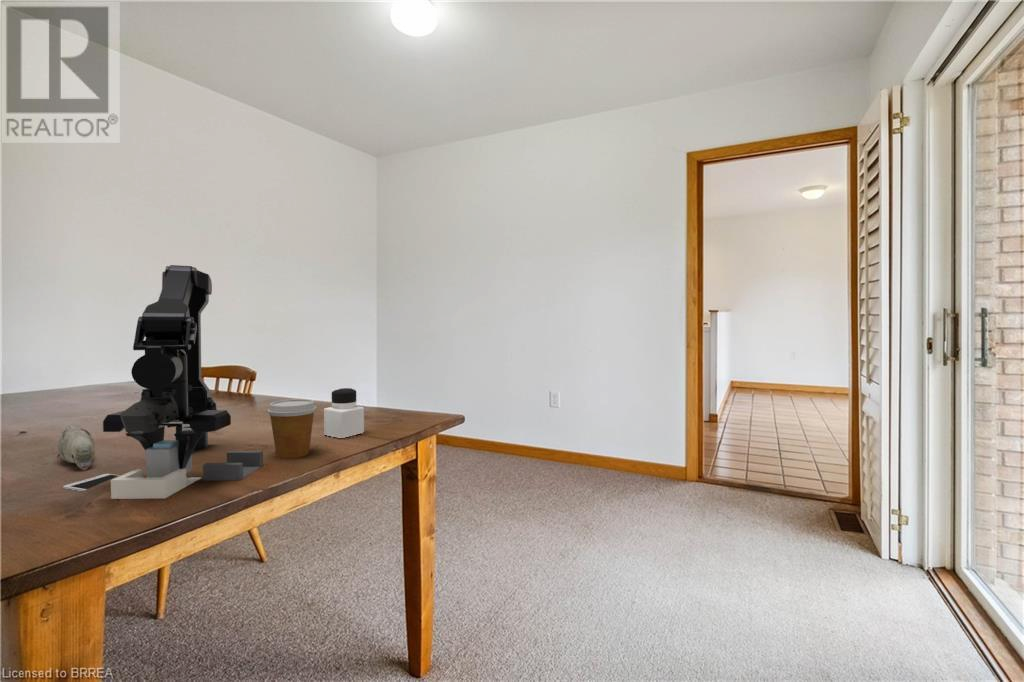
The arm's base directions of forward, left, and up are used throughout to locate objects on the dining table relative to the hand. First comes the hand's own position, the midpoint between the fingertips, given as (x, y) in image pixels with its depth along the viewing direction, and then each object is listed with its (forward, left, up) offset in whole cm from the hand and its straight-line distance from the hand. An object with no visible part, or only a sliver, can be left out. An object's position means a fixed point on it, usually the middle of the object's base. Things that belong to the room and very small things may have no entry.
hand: (170, 468), depth 85 cm
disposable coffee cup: (-17, +15, -3) cm, 23 cm away
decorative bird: (-14, -28, -4) cm, 32 cm away
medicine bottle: (-37, +20, -3) cm, 42 cm away
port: (+3, 0, -3) cm, 4 cm away
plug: (0, 0, -1) cm, 1 cm away
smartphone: (0, -9, -4) cm, 10 cm away
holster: (-5, +9, -3) cm, 10 cm away
